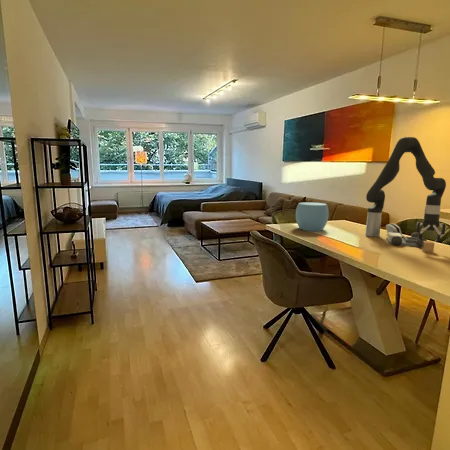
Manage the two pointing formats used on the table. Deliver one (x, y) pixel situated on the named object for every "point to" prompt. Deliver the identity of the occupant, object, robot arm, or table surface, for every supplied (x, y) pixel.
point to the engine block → (427, 247)
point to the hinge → (393, 228)
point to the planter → (312, 216)
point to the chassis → (404, 239)
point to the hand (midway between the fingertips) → (429, 240)
